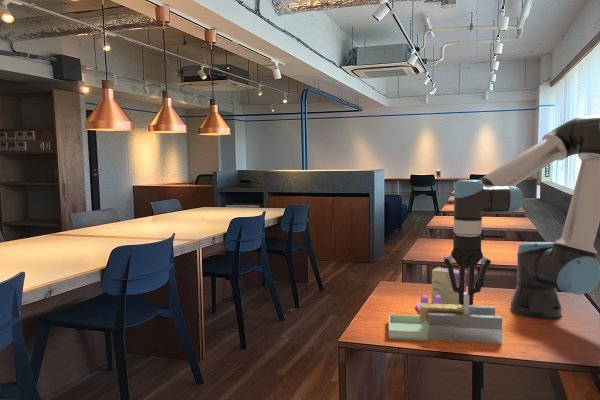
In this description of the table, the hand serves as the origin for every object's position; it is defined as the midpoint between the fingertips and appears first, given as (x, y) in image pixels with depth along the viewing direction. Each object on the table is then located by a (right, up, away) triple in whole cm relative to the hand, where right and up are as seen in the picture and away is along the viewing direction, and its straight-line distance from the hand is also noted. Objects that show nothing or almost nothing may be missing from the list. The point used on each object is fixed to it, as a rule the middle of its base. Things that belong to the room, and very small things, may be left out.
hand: (465, 315), depth 140 cm
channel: (-1, -6, +1) cm, 6 cm away
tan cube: (-7, -2, +1) cm, 7 cm away
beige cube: (-3, -2, +1) cm, 3 cm away
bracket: (-5, -4, +22) cm, 23 cm away
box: (+4, -3, +30) cm, 31 cm away
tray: (-16, -5, +4) cm, 17 cm away
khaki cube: (-11, -1, +2) cm, 11 cm away
